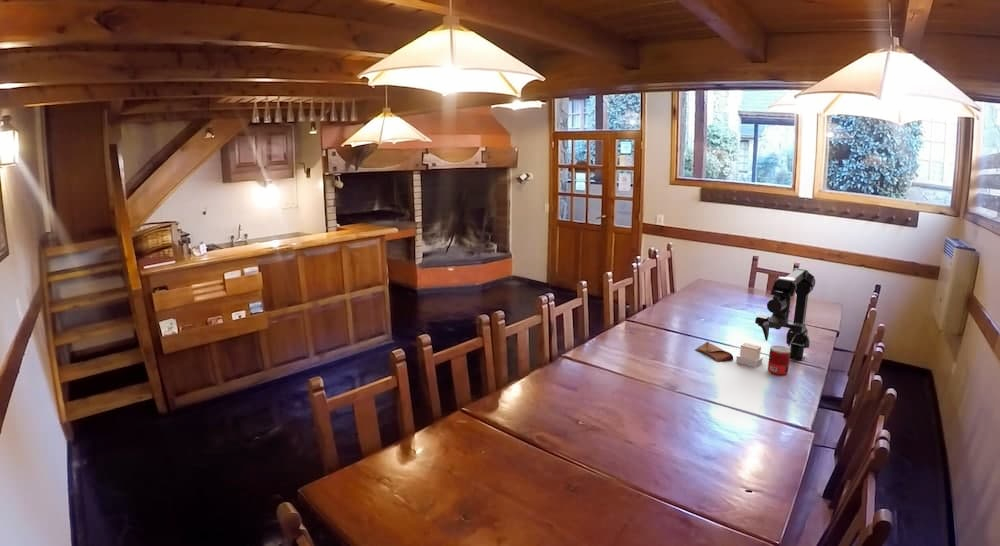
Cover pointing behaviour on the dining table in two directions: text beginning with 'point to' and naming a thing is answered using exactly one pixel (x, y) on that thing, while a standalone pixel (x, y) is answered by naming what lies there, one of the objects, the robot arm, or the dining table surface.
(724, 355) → the sunglasses case
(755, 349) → the cream box
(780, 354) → the canned food
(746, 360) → the pale pink chamfered block
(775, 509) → the dining table surface
